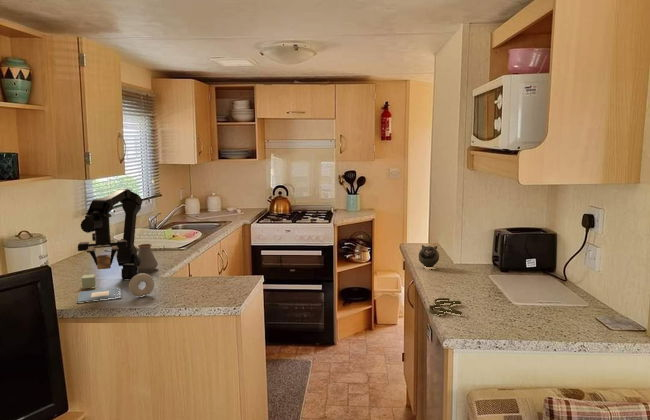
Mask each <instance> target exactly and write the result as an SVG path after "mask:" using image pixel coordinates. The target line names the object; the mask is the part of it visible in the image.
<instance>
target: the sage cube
mask: <svg viewBox="0 0 650 420" xmlns="http://www.w3.org/2000/svg"><path fill="white" fill-rule="evenodd" d="M96 280H97V279H96V274H95V273H94V274H93V273H92V274H86V275H85V274H84V275H82V277H81V287H82V289H81V290H85V289H84V288H90V289H93V288H92V287H95V286H97V282H96ZM95 288H96V287H95Z"/></svg>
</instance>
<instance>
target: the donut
mask: <svg viewBox="0 0 650 420" xmlns="http://www.w3.org/2000/svg"><path fill="white" fill-rule="evenodd" d="M143 282H144V283H145V286H144V287H143V288H139V287H138V285H139V283H143ZM154 288H155V280H154V279H153V277H152V276H151V275H150V274H148V273H146V272H139V273H137V275H135V276H134V277H133V278H132V279H131V280H130V281H129V284H128V289H129V292H130V293H131V295H133V296H134V297H136V296H143V295H147V294H149V295H150V294H151V293H152V292H153V290H154ZM147 296H148V295H147Z"/></svg>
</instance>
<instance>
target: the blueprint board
mask: <svg viewBox="0 0 650 420" xmlns="http://www.w3.org/2000/svg"><path fill="white" fill-rule="evenodd" d="M117 288H118V289H117ZM119 289H120V287H113V288H104V289H94V290H84V291H83V290H82V291H79V294H78V297H77V302H76V304H77V303H78V302H86V301H93V300H100V299H108V298H115V297H119V296H121V297H122V294H121V295H119V294H118V293H119V292H118V291H120V290H119ZM114 294H115V295H114ZM117 294H118V295H117Z"/></svg>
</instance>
